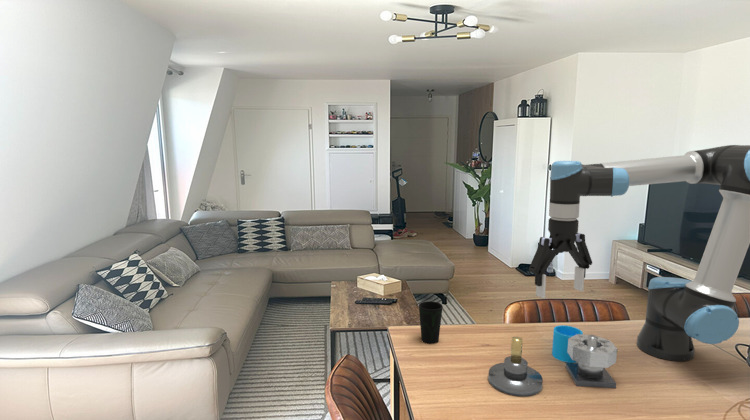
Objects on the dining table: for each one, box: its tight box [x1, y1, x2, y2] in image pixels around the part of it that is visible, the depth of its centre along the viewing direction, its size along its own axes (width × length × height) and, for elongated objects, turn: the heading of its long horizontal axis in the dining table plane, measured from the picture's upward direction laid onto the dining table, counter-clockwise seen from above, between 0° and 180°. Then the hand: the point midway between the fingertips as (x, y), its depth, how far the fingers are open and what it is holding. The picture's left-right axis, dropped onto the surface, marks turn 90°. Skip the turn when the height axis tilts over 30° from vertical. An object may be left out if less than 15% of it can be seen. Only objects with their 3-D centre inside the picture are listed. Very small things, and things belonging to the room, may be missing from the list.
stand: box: [565, 334, 617, 389], centre depth 124 cm, size 10×10×12 cm
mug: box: [551, 324, 584, 363], centre depth 138 cm, size 12×8×8 cm
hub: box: [487, 336, 544, 398], centre depth 121 cm, size 14×14×12 cm
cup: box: [418, 300, 443, 345], centre depth 147 cm, size 8×8×12 cm
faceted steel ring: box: [567, 334, 618, 369], centre depth 123 cm, size 11×11×4 cm
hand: (559, 293), depth 125 cm, fingers open, 13 cm apart
